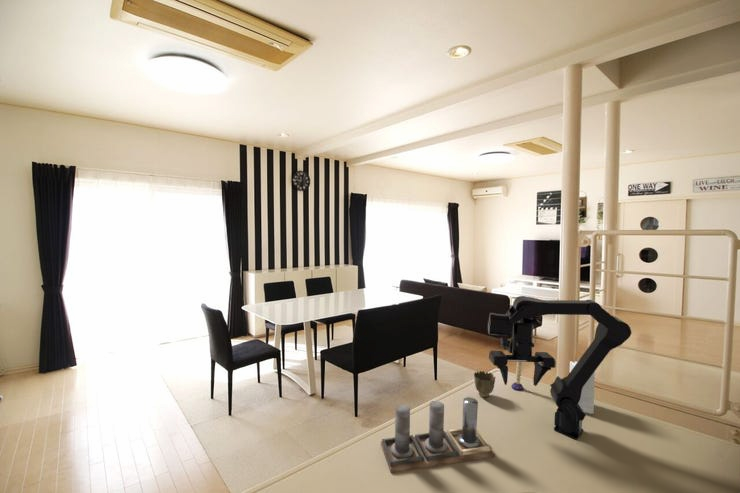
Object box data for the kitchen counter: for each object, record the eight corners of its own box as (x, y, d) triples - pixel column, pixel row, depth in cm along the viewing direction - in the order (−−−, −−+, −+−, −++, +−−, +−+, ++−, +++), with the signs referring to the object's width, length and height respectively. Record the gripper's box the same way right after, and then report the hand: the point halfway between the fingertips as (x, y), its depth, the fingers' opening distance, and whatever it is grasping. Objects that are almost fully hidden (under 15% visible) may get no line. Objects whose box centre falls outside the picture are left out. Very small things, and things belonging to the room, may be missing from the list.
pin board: (473, 431, 103) (475, 389, 102) (493, 456, 92) (495, 410, 91) (380, 444, 97) (380, 400, 96) (390, 472, 86) (391, 423, 85)
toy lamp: (524, 386, 130) (526, 345, 129) (525, 392, 126) (527, 349, 125) (511, 384, 132) (512, 343, 131) (511, 390, 128) (513, 348, 126)
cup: (497, 401, 120) (498, 380, 119) (477, 401, 120) (477, 379, 119) (490, 390, 127) (491, 370, 126) (471, 390, 127) (471, 370, 127)
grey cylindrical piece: (481, 439, 98) (483, 399, 96) (477, 452, 92) (479, 409, 91) (460, 432, 100) (462, 393, 99) (455, 444, 95) (457, 403, 94)
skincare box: (594, 414, 112) (596, 372, 111) (573, 411, 114) (576, 369, 112) (586, 401, 120) (588, 361, 119) (567, 398, 122) (569, 359, 120)
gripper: (541, 329, 112) (538, 373, 113) (484, 327, 113) (483, 372, 114) (558, 341, 101) (555, 390, 102) (495, 339, 102) (493, 388, 103)
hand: (520, 384), depth 106 cm, fingers open, 9 cm apart
